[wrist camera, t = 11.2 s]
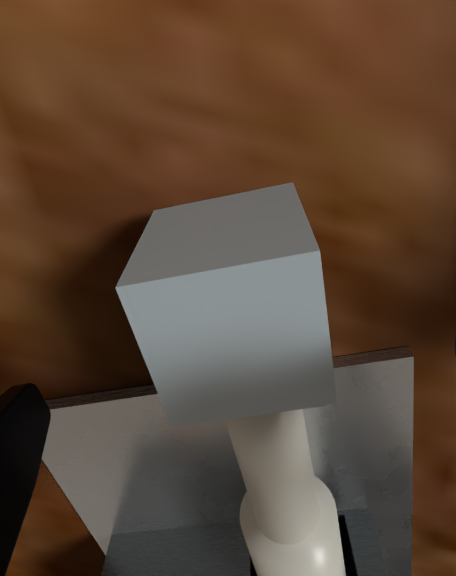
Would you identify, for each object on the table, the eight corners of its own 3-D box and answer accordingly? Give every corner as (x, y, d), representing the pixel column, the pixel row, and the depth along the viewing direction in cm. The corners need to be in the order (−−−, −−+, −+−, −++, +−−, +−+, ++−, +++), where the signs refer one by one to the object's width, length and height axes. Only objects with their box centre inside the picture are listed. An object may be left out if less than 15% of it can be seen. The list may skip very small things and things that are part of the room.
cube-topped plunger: (344, 557, 21) (367, 670, 17) (265, 564, 22) (271, 676, 18) (292, 182, 12) (320, 250, 8) (154, 210, 12) (114, 287, 8)
